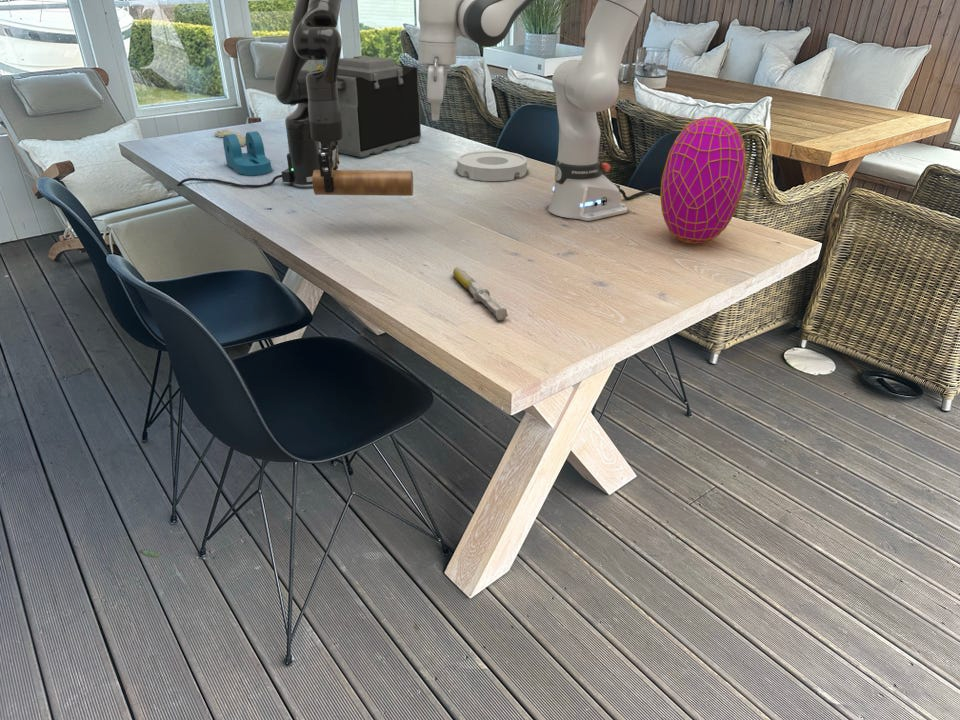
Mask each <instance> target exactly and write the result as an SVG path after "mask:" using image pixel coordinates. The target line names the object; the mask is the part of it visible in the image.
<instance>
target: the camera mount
mask: <svg viewBox="0 0 960 720" xmlns="http://www.w3.org/2000/svg"><path fill="white" fill-rule="evenodd" d="M245 136H246V137H245V139H246V144H245V146H246V152H243V151H242V150H243V149H242V146H240V142H239V140H238V138H237V136H236V135H235V134H230V135H224V137H222V140H223V141H222V143H223V149H224V150H223V151H224V156H225V161H226V165H227V166H228V167H230V168H231V169H232V170H234V171H236V172H237V173H238V174H239V175H244V176H260V175H265V174H268V173H271V172H272V164H271V159H270V158H268V157H267V156H266V153H265V145H264V141H263V139H262V136H261V134H260V132H258V131H247V132H246V133H245Z"/></svg>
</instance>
